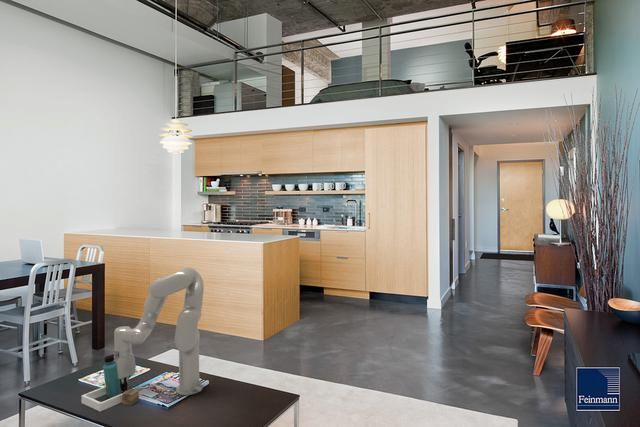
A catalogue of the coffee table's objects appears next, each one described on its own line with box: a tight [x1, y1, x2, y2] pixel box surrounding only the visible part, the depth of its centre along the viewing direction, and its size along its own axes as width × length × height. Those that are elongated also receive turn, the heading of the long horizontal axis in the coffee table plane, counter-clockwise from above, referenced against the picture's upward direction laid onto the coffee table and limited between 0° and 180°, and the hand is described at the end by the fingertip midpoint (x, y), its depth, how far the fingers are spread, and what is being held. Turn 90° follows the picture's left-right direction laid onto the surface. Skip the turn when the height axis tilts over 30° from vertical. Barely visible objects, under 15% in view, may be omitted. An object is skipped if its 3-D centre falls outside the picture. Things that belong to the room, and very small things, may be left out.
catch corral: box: [80, 385, 124, 413], centre depth 195 cm, size 15×15×4 cm
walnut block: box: [121, 388, 140, 406], centre depth 194 cm, size 5×5×5 cm
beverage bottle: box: [102, 354, 122, 398], centre depth 198 cm, size 6×7×20 cm
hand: (123, 390), depth 203 cm, fingers closed
